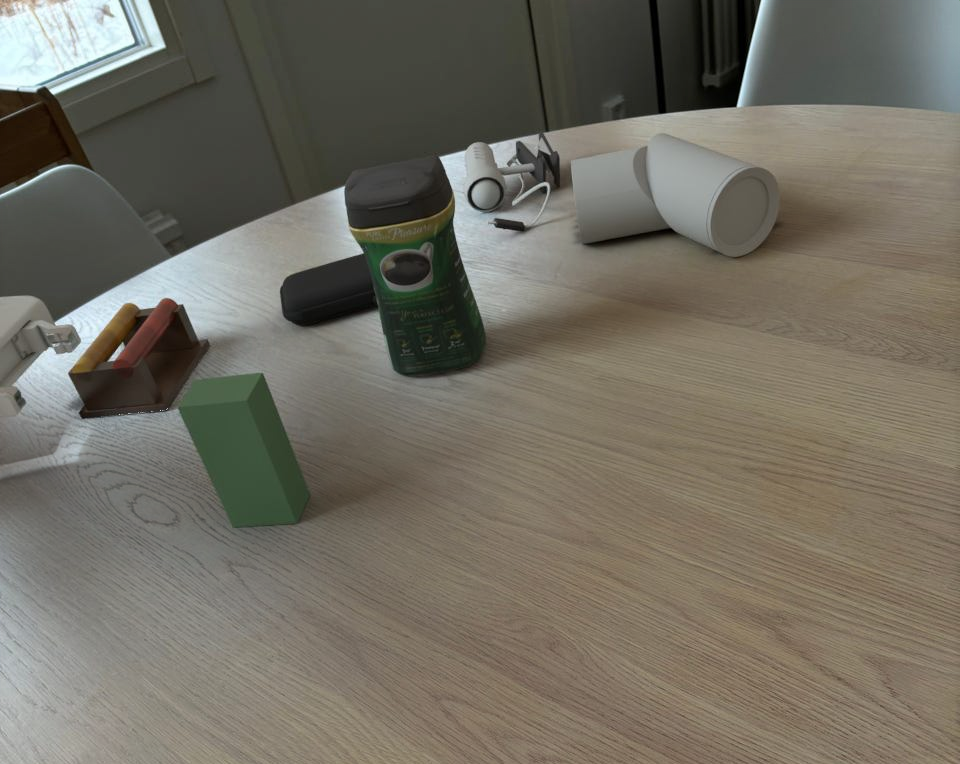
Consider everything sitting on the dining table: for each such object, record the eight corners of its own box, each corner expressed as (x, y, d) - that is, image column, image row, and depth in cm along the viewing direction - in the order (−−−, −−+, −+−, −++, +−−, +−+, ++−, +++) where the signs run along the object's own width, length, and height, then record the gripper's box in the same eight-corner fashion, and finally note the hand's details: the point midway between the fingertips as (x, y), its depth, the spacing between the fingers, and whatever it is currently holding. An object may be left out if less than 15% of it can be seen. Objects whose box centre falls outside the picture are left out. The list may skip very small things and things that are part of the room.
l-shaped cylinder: (758, 171, 116) (578, 205, 119) (759, 78, 107) (565, 117, 110) (785, 275, 106) (588, 309, 109) (789, 182, 97) (574, 222, 101)
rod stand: (81, 419, 109) (53, 367, 105) (130, 354, 118) (106, 304, 114) (166, 411, 107) (141, 357, 102) (210, 345, 116) (188, 293, 111)
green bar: (232, 527, 89) (176, 406, 81) (247, 499, 92) (194, 379, 84) (297, 523, 87) (246, 400, 79) (310, 494, 90) (263, 372, 82)
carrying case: (289, 339, 113) (420, 301, 113) (279, 313, 110) (413, 275, 111) (283, 298, 120) (406, 263, 120) (274, 274, 118) (400, 237, 118)
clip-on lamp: (574, 245, 122) (552, 158, 132) (573, 196, 116) (550, 109, 126) (473, 260, 122) (459, 171, 132) (468, 211, 116) (453, 122, 127)
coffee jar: (490, 330, 105) (450, 138, 92) (484, 371, 99) (439, 173, 87) (398, 343, 107) (345, 157, 94) (386, 384, 101) (329, 193, 89)
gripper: (-202, 421, 76) (-45, 405, 73) (-53, 290, 90) (85, 271, 87) (-150, 491, 80) (2, 479, 77) (-15, 355, 95) (118, 340, 91)
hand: (47, 368), depth 82 cm, fingers open, 8 cm apart
